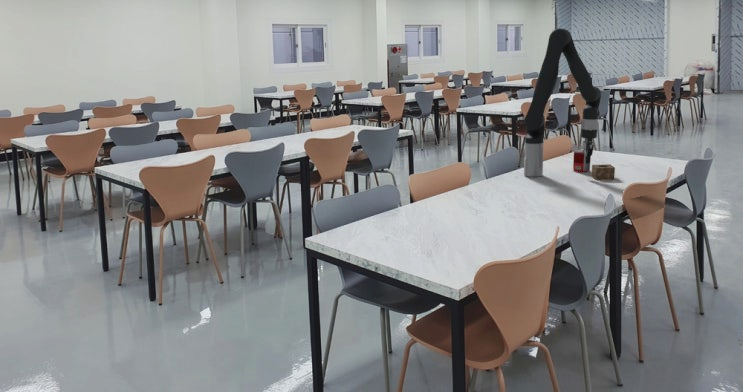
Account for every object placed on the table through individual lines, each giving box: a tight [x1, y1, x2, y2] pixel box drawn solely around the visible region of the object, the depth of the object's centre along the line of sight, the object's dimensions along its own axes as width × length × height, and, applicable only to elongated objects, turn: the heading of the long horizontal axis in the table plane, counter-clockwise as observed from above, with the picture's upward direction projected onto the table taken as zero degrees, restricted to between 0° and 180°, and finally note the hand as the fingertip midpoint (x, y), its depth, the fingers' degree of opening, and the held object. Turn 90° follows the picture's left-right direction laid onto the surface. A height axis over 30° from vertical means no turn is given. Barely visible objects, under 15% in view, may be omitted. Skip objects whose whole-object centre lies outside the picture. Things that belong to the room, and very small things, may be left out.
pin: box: [583, 151, 591, 172], centre depth 322 cm, size 3×3×12 cm
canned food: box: [572, 149, 589, 173], centre depth 343 cm, size 8×8×11 cm
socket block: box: [591, 163, 616, 181], centre depth 325 cm, size 9×9×6 cm
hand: (587, 162), depth 322 cm, fingers closed on pin, 3 cm apart
